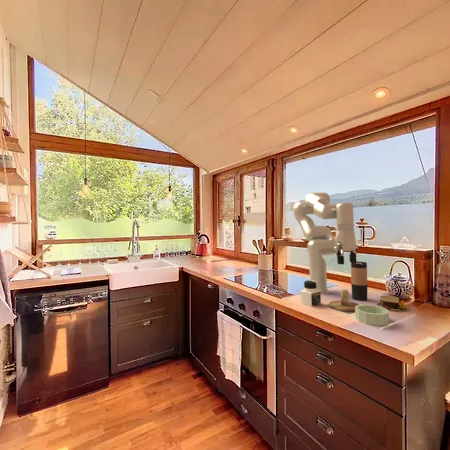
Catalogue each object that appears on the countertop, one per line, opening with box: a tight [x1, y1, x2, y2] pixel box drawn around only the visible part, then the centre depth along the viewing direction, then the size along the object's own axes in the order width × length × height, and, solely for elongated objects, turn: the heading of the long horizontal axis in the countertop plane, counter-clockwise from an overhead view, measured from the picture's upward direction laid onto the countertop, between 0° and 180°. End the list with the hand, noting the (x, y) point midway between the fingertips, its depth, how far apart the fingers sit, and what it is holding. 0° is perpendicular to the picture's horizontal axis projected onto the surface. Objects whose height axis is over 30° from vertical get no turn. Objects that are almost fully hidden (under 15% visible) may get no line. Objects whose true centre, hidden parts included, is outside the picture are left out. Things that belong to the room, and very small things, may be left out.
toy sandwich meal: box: [375, 294, 409, 313], centre depth 119 cm, size 12×14×5 cm
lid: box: [329, 289, 360, 313], centre depth 121 cm, size 14×14×8 cm
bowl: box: [354, 304, 390, 328], centre depth 104 cm, size 12×12×5 cm
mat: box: [323, 304, 355, 315], centre depth 121 cm, size 14×14×1 cm
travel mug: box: [350, 261, 368, 302], centre depth 133 cm, size 8×8×20 cm
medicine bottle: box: [300, 279, 322, 307], centre depth 128 cm, size 7×7×12 cm
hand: (347, 263), depth 121 cm, fingers open, 9 cm apart
